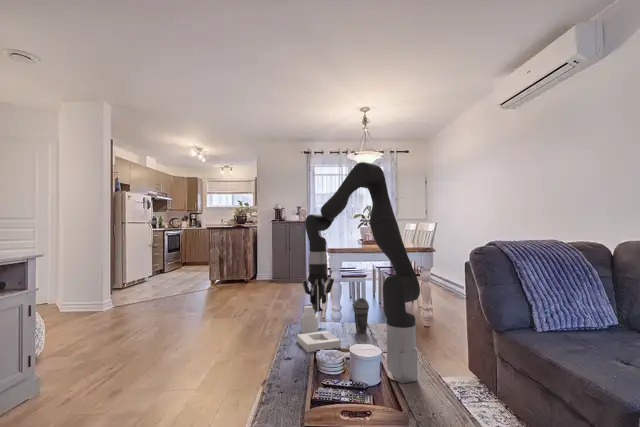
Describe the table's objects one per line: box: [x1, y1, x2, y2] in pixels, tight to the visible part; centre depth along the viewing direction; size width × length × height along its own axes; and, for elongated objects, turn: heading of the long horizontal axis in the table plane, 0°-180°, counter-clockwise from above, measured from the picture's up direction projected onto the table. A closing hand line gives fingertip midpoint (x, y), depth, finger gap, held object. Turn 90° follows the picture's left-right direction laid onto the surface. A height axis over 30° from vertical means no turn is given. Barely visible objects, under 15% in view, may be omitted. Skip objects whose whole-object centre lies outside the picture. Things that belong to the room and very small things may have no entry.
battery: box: [311, 283, 324, 313], centre depth 154 cm, size 7×4×11 cm, turn 14°
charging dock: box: [296, 330, 341, 353], centre depth 154 cm, size 14×14×3 cm
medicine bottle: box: [300, 304, 320, 334], centre depth 172 cm, size 7×7×12 cm
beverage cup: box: [352, 288, 370, 335], centre depth 170 cm, size 7×7×20 cm
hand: (318, 303), depth 154 cm, fingers closed on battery, 4 cm apart
